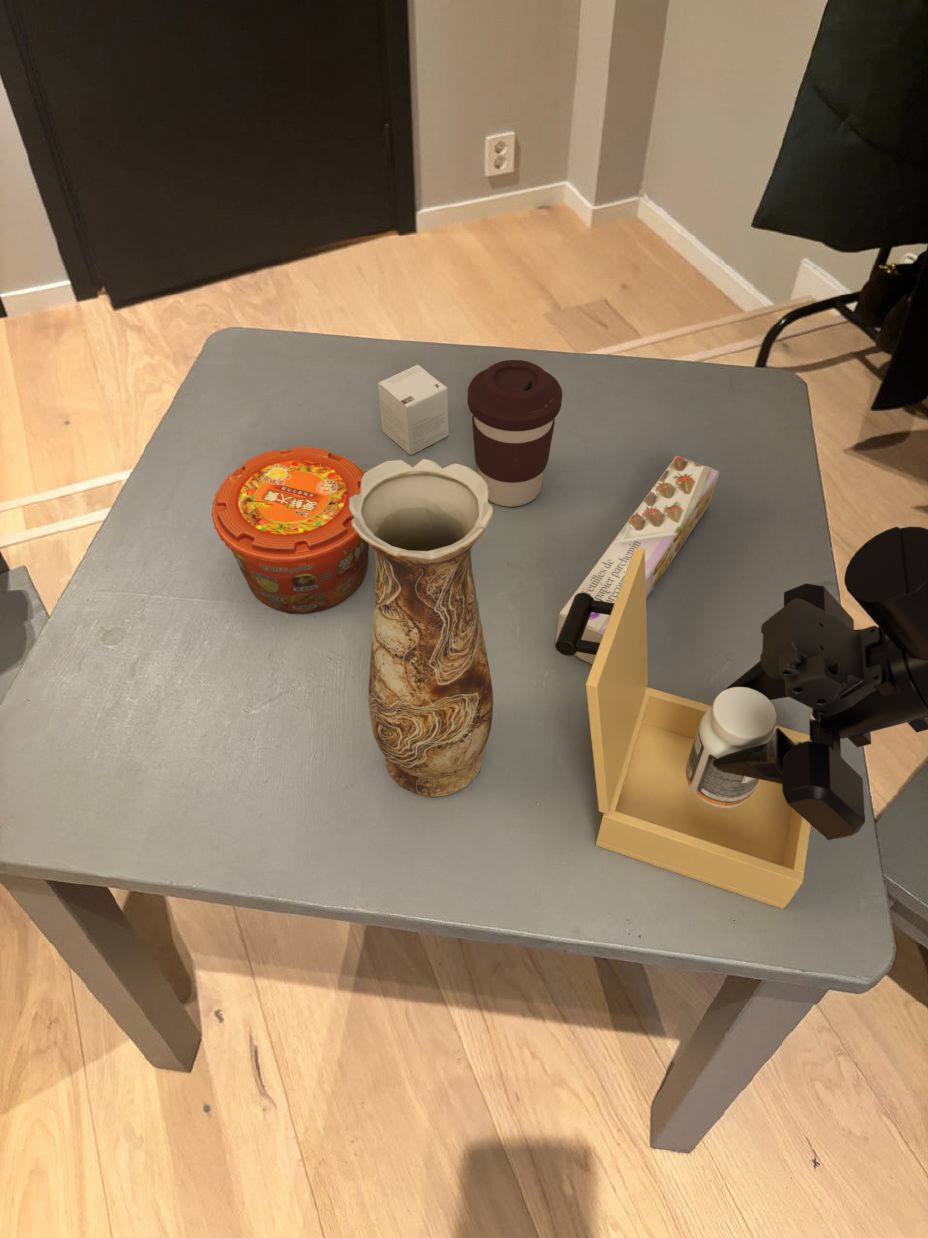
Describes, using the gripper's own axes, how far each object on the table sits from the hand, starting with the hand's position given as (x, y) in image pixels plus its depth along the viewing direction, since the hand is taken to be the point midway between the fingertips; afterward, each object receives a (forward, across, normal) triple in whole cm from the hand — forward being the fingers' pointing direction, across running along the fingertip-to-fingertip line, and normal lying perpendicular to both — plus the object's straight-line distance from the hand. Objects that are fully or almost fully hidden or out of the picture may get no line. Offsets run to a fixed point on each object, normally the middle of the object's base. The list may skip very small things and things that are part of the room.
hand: (718, 732), depth 69 cm
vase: (+24, 0, -8) cm, 26 cm away
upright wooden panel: (+4, -1, -7) cm, 8 cm away
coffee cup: (+24, -36, -8) cm, 45 cm away
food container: (+37, -19, -22) cm, 47 cm away
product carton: (+34, -43, -18) cm, 58 cm away
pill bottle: (+4, 0, +6) cm, 7 cm away
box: (+14, -26, +3) cm, 30 cm away
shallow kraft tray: (+7, 0, +9) cm, 11 cm away
